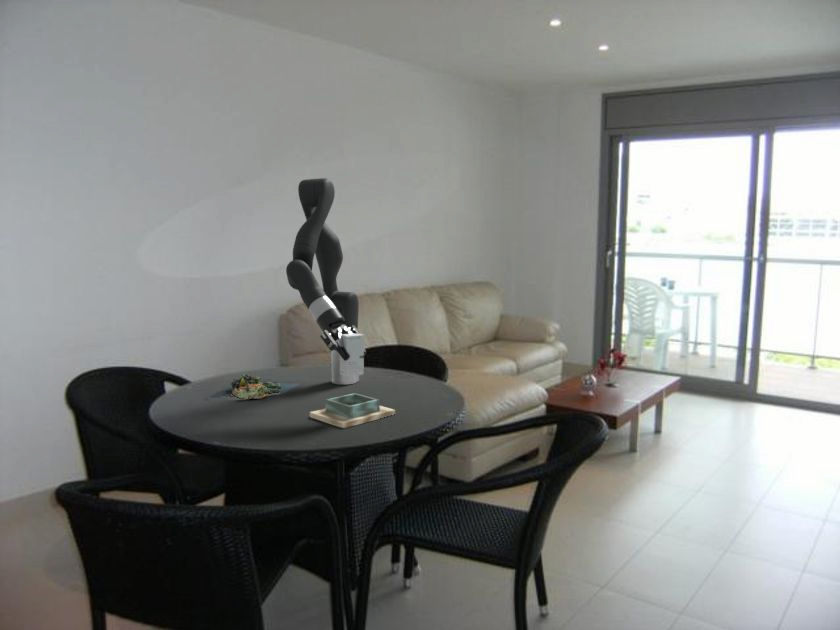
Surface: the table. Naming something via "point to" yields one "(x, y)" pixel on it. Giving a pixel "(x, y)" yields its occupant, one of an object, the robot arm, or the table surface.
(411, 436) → the table surface
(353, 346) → the skincare box
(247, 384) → the plated dish
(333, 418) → the socket board
